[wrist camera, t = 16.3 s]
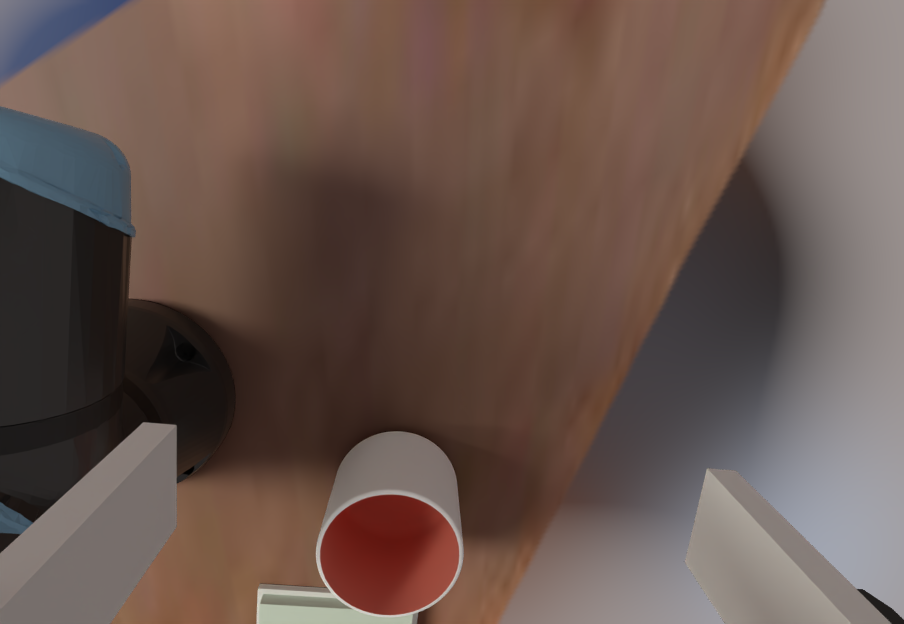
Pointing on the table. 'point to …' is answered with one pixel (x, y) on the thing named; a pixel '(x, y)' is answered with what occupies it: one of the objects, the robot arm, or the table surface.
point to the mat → (298, 594)
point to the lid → (316, 612)
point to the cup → (392, 527)
